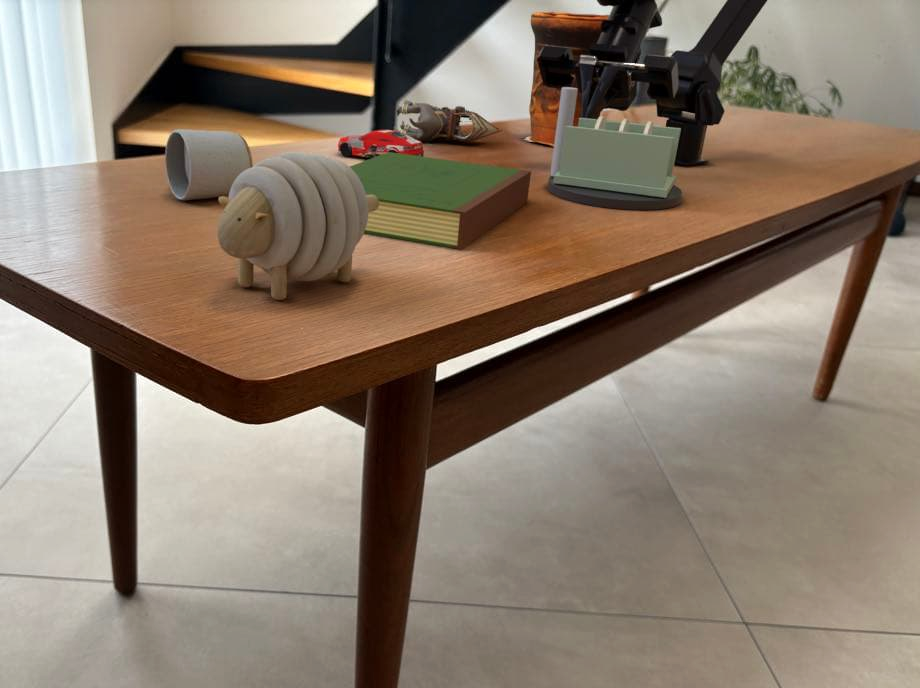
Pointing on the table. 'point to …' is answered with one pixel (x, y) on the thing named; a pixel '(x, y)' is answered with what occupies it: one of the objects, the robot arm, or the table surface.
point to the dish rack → (612, 153)
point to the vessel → (579, 37)
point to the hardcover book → (439, 197)
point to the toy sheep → (294, 219)
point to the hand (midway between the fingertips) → (584, 122)
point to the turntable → (614, 197)
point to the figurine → (443, 122)
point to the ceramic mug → (205, 162)
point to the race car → (380, 144)
